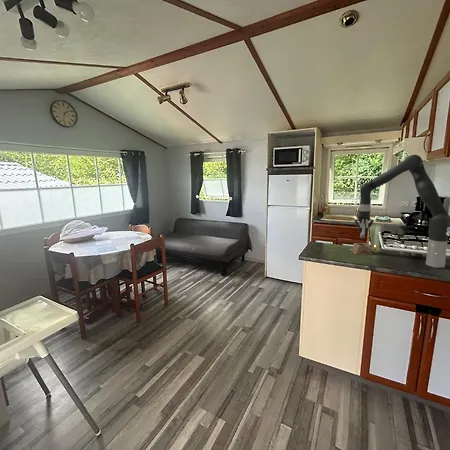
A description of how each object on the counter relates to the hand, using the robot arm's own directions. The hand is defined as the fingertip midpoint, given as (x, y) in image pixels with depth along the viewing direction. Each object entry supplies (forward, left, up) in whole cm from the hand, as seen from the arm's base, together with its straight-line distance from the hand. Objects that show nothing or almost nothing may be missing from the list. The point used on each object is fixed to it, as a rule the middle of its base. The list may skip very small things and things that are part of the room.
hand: (362, 232), depth 192 cm
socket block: (0, 0, -16) cm, 16 cm away
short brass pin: (0, -10, -16) cm, 19 cm away
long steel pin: (0, 0, -4) cm, 4 cm away
